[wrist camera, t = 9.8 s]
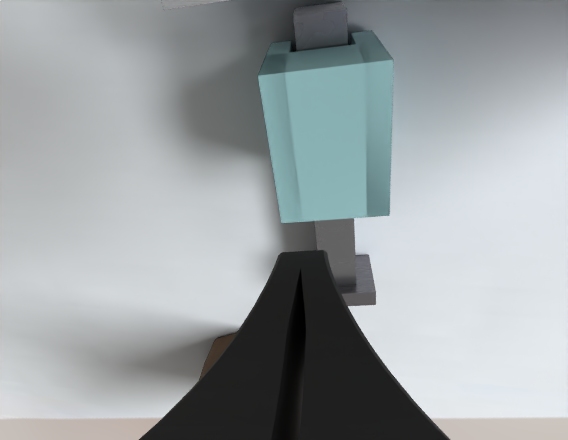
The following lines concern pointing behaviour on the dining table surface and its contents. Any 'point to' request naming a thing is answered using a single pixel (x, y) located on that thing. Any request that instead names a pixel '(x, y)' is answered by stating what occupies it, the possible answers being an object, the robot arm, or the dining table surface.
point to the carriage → (329, 128)
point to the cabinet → (185, 3)
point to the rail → (339, 232)
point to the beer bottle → (216, 351)
